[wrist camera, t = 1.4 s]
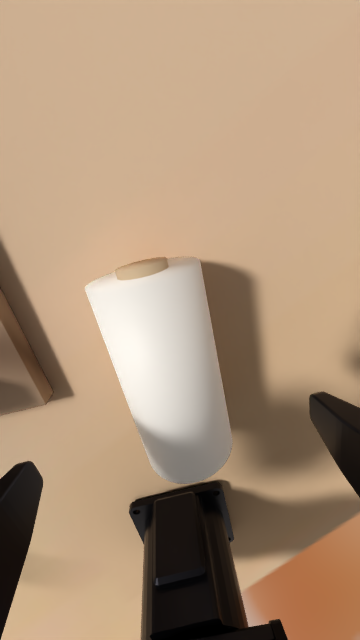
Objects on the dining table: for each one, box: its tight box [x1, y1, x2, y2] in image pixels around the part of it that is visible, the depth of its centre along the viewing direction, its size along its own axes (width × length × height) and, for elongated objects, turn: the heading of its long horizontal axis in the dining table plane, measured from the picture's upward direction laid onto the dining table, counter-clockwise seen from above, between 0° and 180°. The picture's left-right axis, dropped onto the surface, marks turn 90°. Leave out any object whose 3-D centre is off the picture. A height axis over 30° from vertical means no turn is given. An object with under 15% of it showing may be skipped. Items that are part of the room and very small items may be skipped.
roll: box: [85, 257, 232, 484], centre depth 11 cm, size 10×4×4 cm, turn 12°
